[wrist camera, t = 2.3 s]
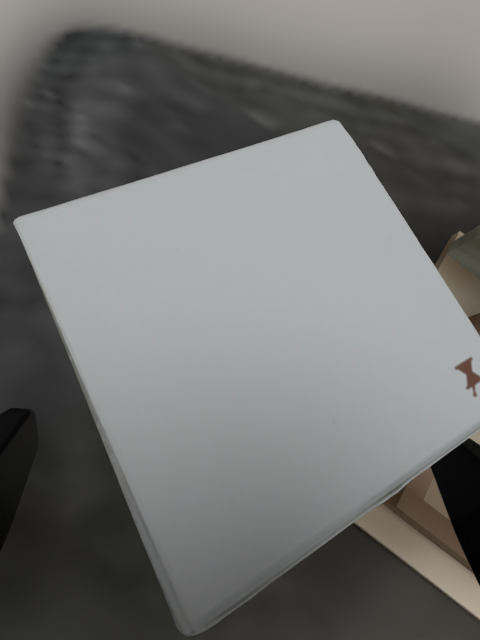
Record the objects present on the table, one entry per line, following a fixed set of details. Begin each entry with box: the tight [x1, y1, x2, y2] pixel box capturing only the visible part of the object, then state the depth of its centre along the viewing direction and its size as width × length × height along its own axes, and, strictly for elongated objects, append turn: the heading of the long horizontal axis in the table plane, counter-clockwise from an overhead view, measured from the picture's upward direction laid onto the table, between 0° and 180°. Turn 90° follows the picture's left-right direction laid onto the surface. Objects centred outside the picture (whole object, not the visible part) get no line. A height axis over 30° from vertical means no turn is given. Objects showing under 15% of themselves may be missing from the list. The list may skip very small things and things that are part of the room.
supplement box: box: [13, 120, 480, 637], centre depth 12 cm, size 7×7×13 cm
